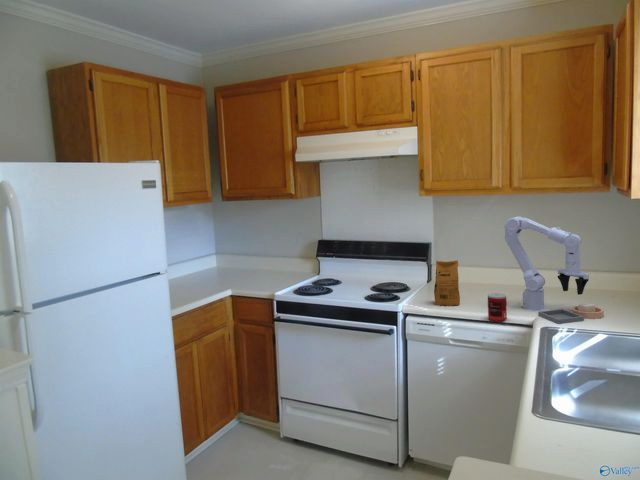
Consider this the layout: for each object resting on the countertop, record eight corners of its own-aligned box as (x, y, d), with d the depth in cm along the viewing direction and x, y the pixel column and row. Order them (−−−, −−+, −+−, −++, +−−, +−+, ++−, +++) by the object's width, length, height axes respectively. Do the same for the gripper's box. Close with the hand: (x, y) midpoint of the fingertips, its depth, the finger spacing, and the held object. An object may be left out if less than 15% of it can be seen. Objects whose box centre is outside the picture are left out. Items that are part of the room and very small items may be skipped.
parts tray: (538, 317, 211) (538, 311, 211) (562, 314, 213) (562, 308, 213) (558, 325, 198) (558, 319, 198) (584, 322, 200) (584, 316, 200)
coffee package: (434, 301, 248) (433, 259, 246) (459, 301, 245) (458, 258, 243) (434, 306, 239) (432, 262, 236) (460, 306, 236) (459, 262, 233)
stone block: (578, 314, 209) (578, 304, 208) (587, 313, 210) (587, 303, 210) (585, 316, 205) (585, 306, 205) (595, 315, 206) (595, 305, 206)
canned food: (502, 316, 215) (501, 292, 214) (509, 321, 207) (509, 296, 206) (485, 317, 215) (484, 293, 214) (492, 322, 207) (491, 297, 206)
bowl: (566, 314, 212) (566, 307, 212) (589, 311, 215) (589, 304, 214) (585, 321, 201) (585, 314, 201) (609, 318, 203) (609, 311, 203)
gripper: (552, 261, 216) (552, 290, 218) (580, 265, 202) (579, 297, 204) (564, 259, 218) (564, 288, 220) (592, 263, 205) (592, 294, 206)
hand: (572, 292), depth 212 cm, fingers open, 7 cm apart
